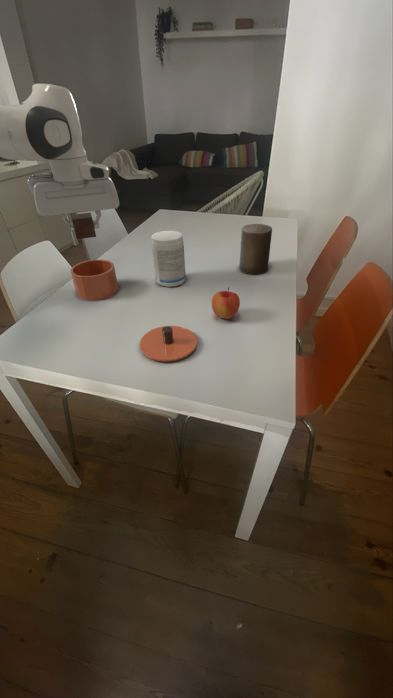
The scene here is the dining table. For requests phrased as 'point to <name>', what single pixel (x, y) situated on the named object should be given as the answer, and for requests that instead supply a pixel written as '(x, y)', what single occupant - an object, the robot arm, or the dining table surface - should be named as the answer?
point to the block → (83, 225)
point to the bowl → (94, 279)
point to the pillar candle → (255, 248)
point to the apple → (225, 304)
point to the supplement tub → (168, 258)
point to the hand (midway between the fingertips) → (84, 229)
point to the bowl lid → (168, 343)
